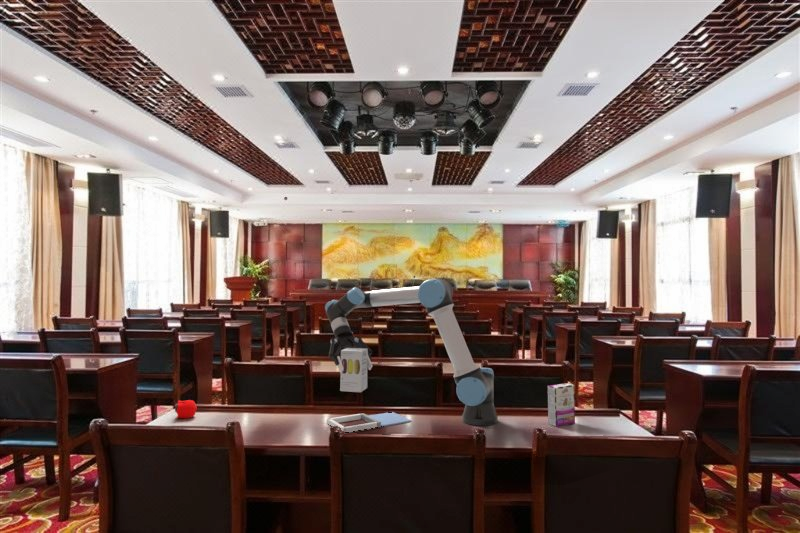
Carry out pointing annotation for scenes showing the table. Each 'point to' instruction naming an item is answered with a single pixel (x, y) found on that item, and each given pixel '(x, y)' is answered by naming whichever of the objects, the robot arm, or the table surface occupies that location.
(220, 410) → the table surface
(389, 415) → the bay rack
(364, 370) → the supplement box
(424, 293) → the robot arm
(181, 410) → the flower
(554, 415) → the candy bar box
